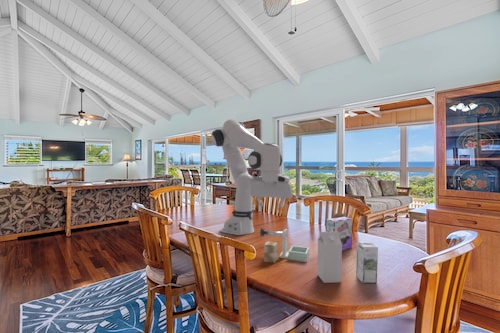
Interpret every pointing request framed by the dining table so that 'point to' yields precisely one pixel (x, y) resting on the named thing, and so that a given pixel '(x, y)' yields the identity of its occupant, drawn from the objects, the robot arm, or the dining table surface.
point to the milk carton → (329, 257)
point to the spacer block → (270, 251)
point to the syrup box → (367, 262)
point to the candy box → (341, 230)
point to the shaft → (270, 233)
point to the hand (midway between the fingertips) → (270, 206)
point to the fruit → (338, 215)
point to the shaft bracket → (293, 250)
